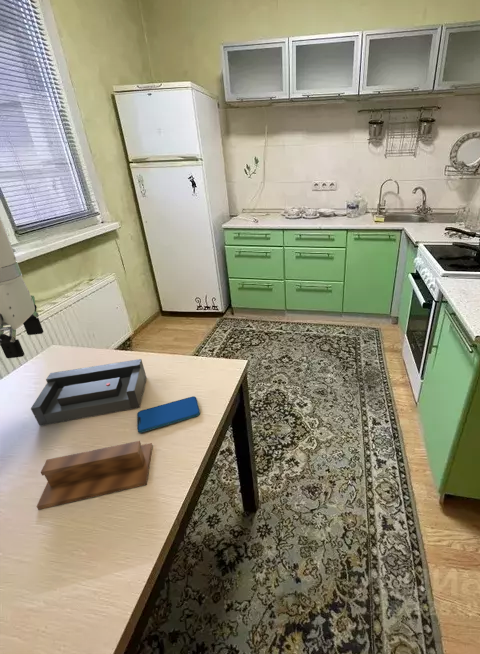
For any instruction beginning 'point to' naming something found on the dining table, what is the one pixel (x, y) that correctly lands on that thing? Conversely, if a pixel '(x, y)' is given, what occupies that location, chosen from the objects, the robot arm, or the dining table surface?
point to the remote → (90, 391)
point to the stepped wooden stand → (95, 473)
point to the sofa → (128, 398)
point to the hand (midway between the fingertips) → (26, 344)
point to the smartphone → (167, 414)
